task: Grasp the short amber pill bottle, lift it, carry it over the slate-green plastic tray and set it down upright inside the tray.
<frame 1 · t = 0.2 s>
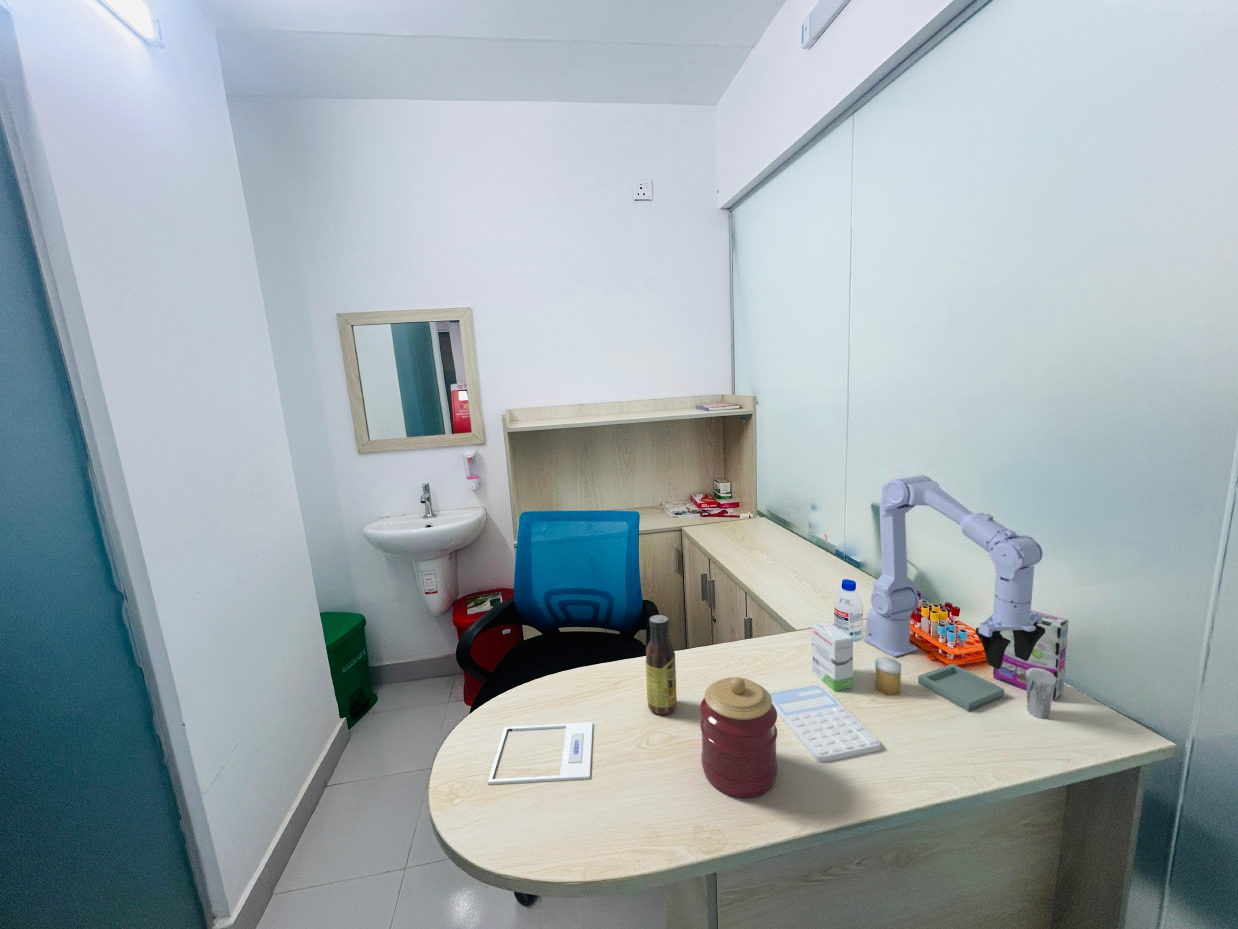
hand: (1007, 662, 101), 10 cm above the table, fingers open, 7 cm apart
candy bar box: (1026, 686, 109), on the table
canister: (738, 771, 89), on the table
ink box: (831, 680, 115), on the table
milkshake: (1040, 715, 100), on the table
calculator: (819, 725, 101), on the table
pill bottle: (887, 688, 110), on the table
sauce bottle: (662, 707, 108), on the table
photo frame: (544, 755, 96), on the table
tray: (959, 690, 109), on the table
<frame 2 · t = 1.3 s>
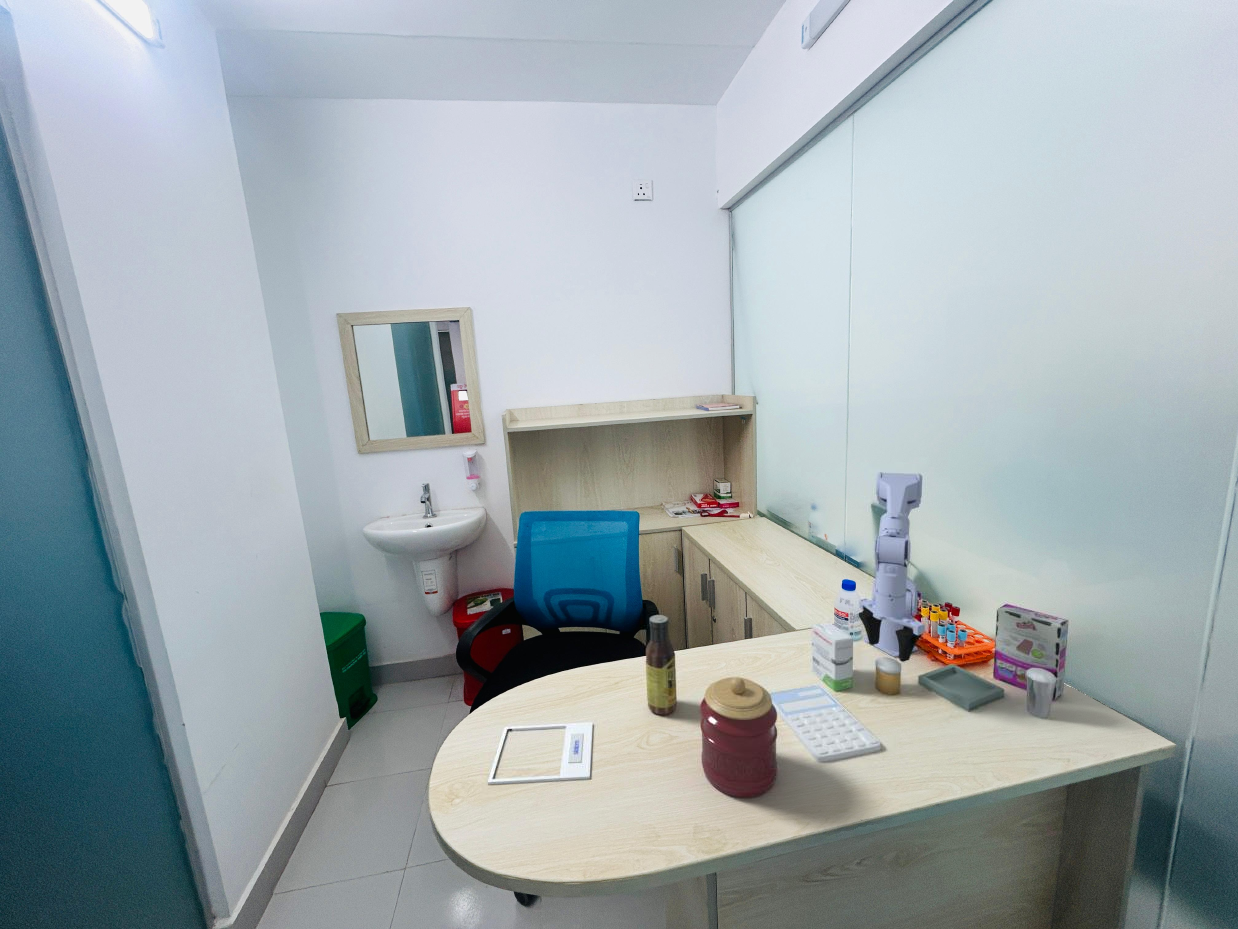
hand: (888, 651, 109), 9 cm above the table, fingers open, 7 cm apart
nothing on the table moved.
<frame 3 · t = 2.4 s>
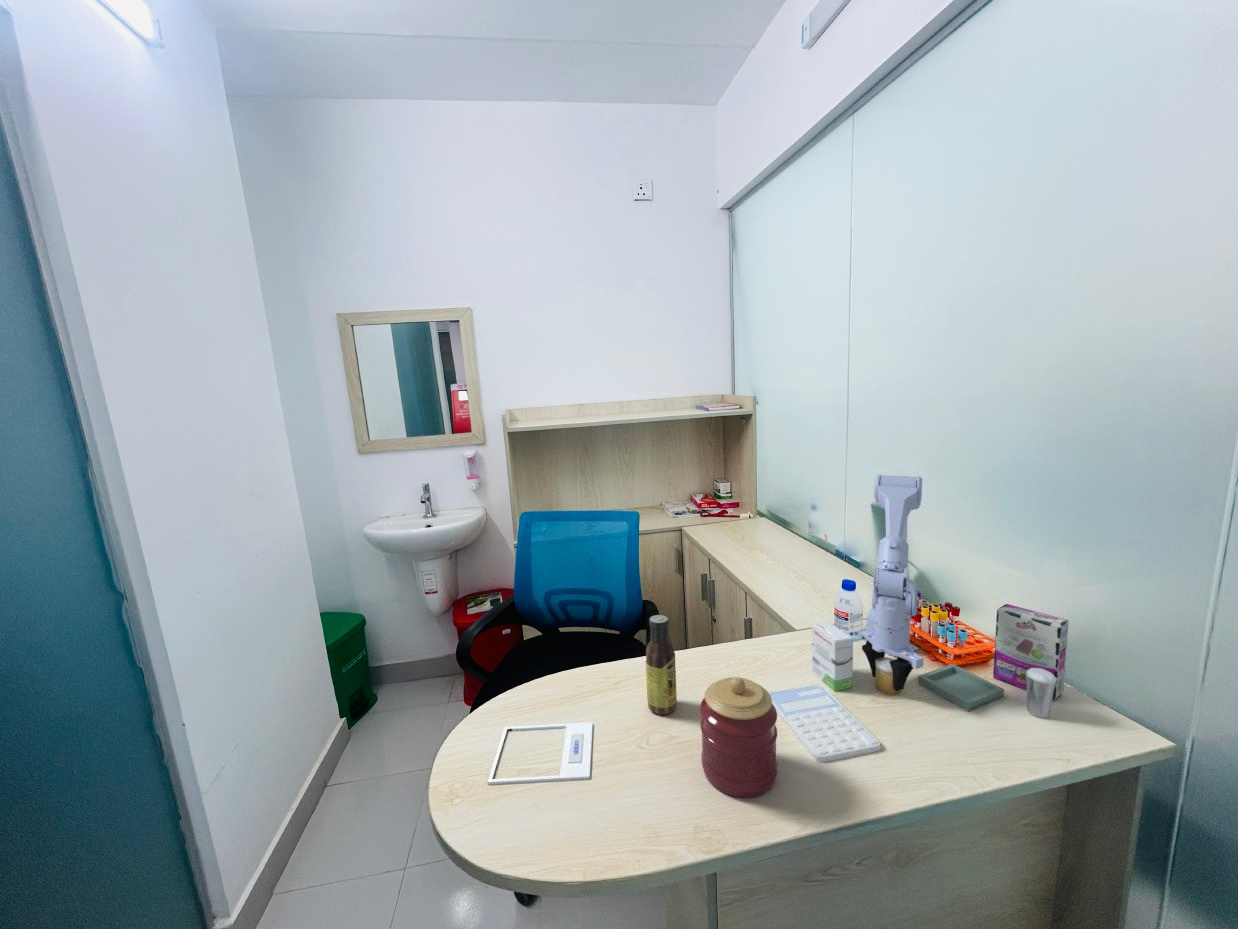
hand: (887, 682, 110), 1 cm above the table, fingers closed on pill bottle, 5 cm apart
pill bottle: (887, 688, 110), on the table, touching gripper
everything else where it was.
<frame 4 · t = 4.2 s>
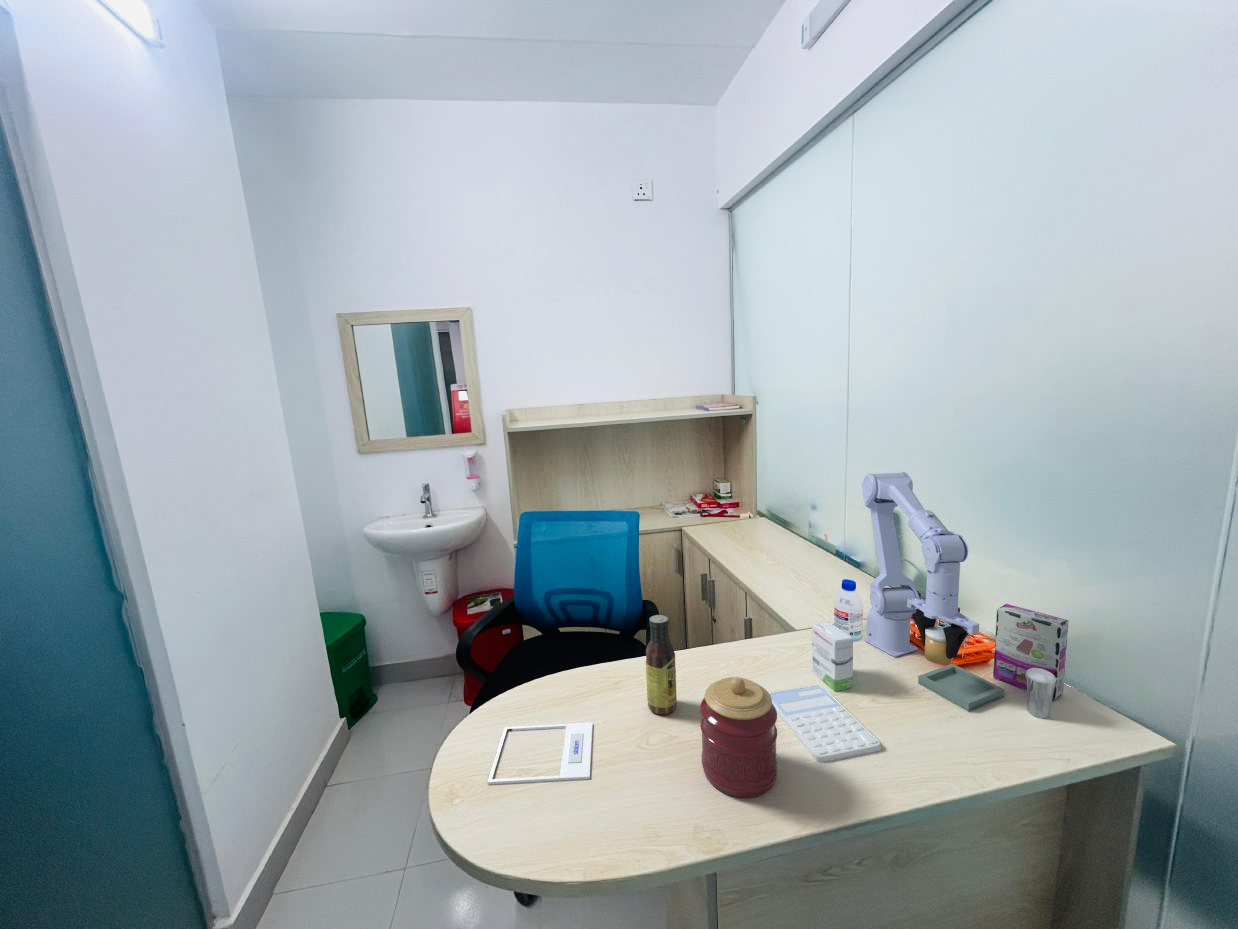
hand: (939, 651, 108), 9 cm above the table, fingers closed on pill bottle, 5 cm apart
pill bottle: (937, 658, 108), point 7 cm above the table, touching gripper
everything else where it was.
when the fingers open (3 cm above the table, at t = 6.2 s): pill bottle stays where it is, resting on tray.
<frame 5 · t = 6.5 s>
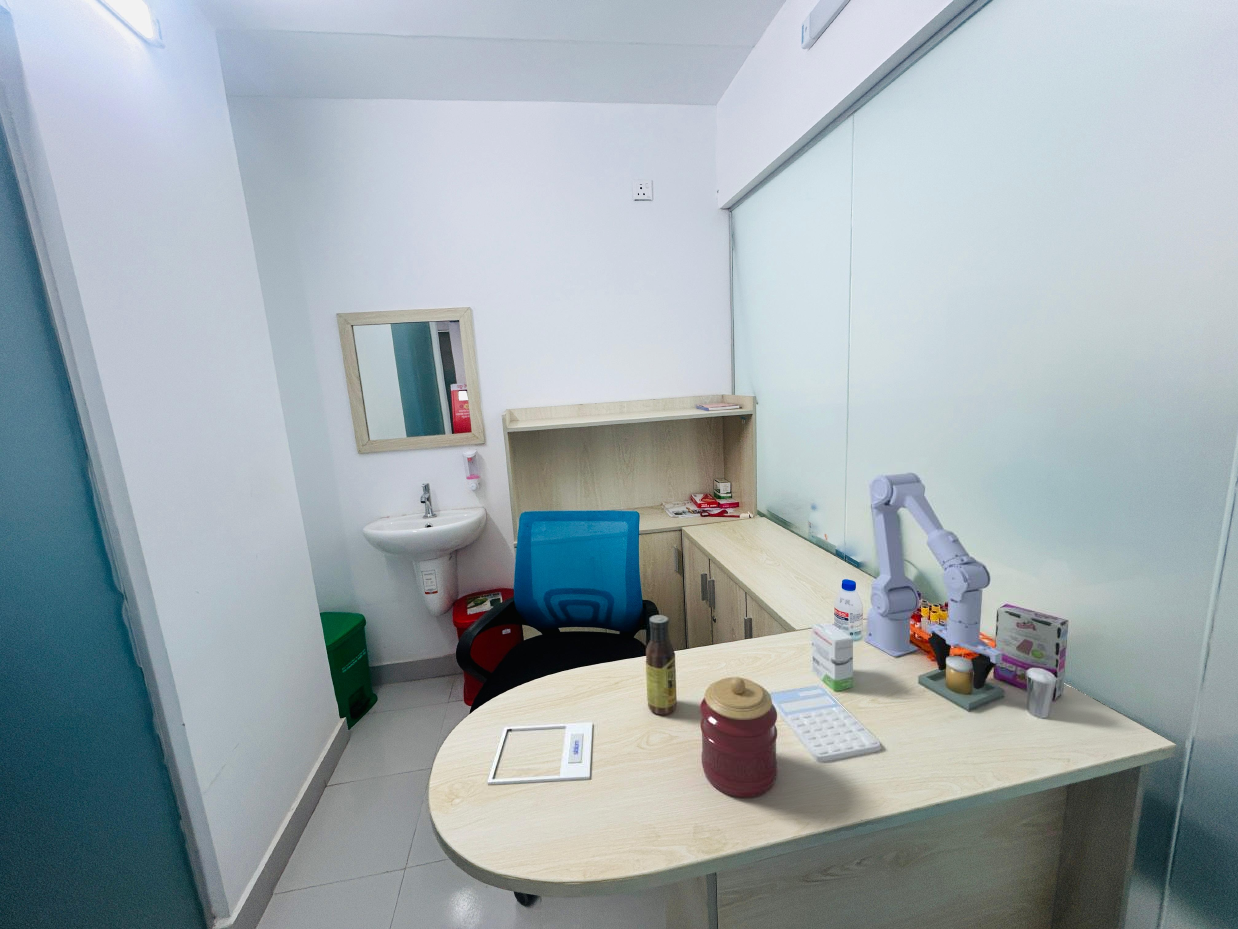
hand: (960, 678, 108), 3 cm above the table, fingers open, 7 cm apart
pill bottle: (958, 687, 108), point 1 cm above the table, touching tray
everything else where it was.
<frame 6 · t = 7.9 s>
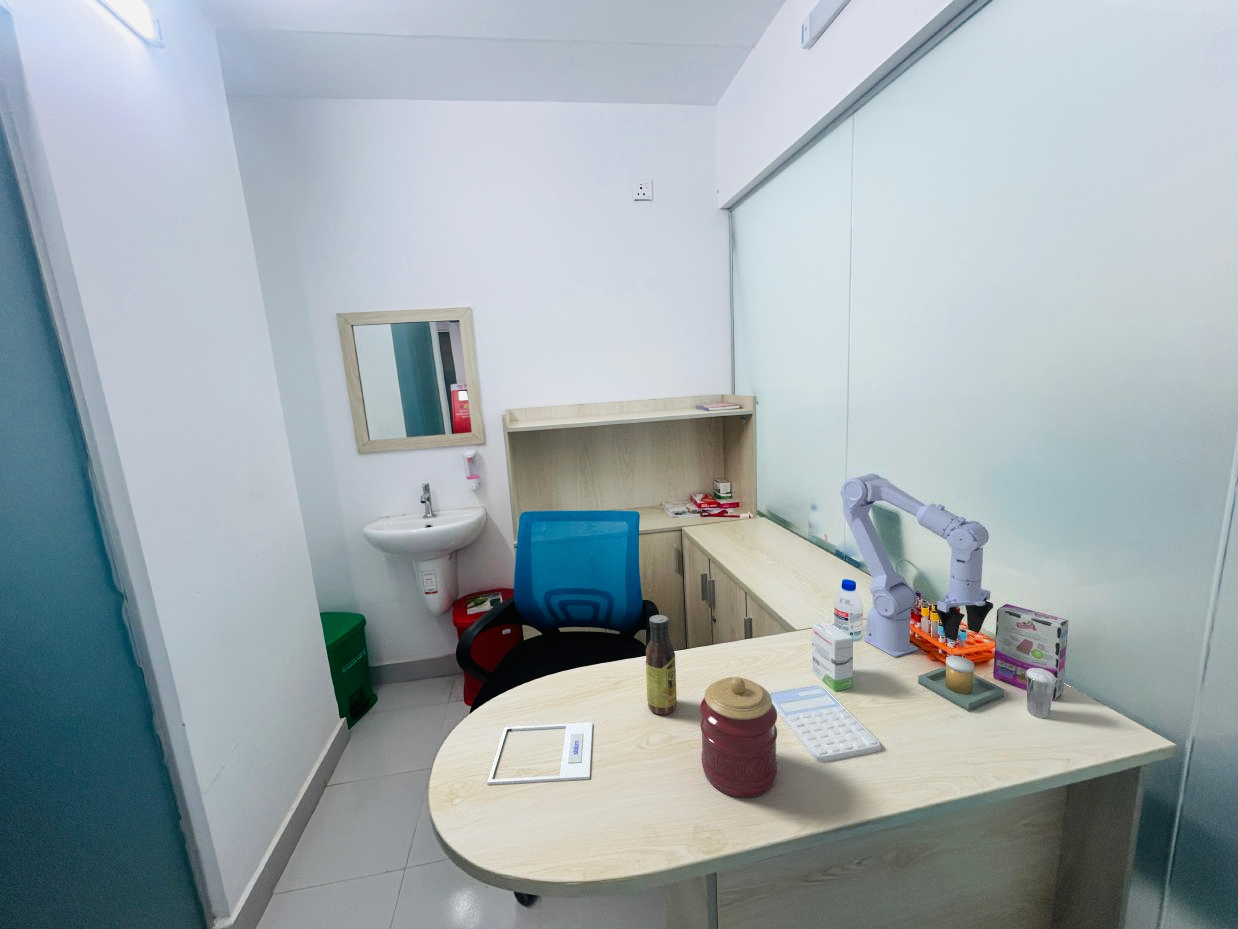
hand: (962, 634, 113), 9 cm above the table, fingers open, 7 cm apart
nothing on the table moved.
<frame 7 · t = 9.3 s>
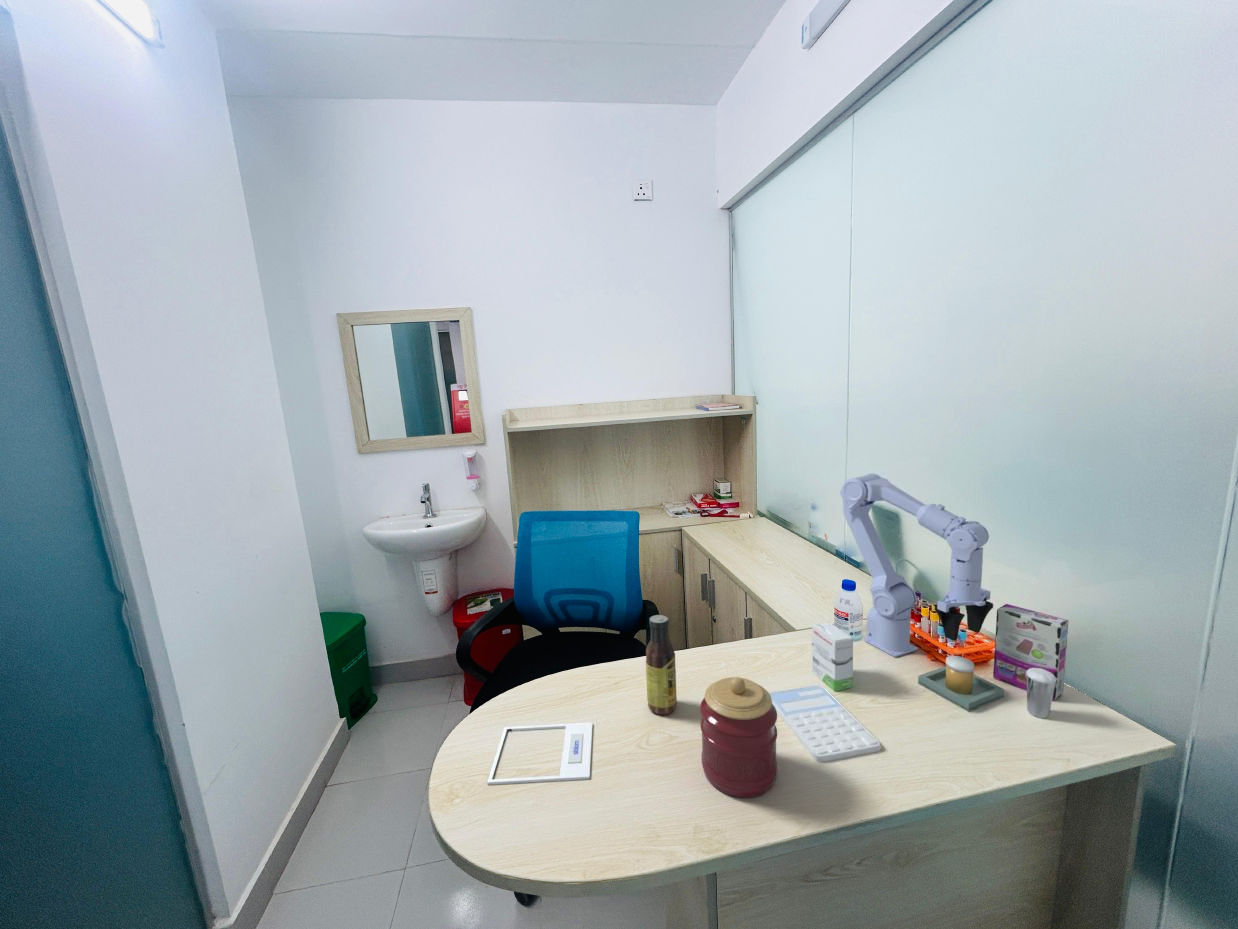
hand: (962, 634, 113), 9 cm above the table, fingers open, 7 cm apart
nothing on the table moved.
at the end: pill bottle inside the target area on the tray (0.4 cm from its centre), point 0.6 cm above the tray's base; pill bottle tilted 0°; the gripper is holding nothing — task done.
